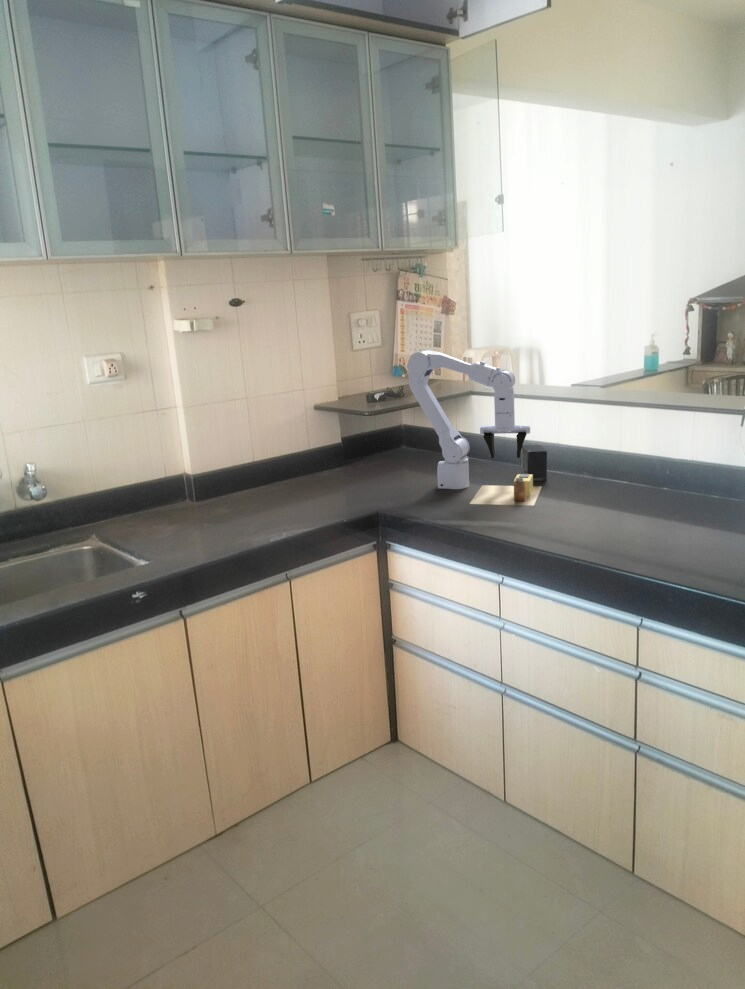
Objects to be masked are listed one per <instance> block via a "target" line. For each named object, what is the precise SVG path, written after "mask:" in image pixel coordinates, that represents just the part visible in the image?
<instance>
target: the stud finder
mask: <svg viewBox="0 0 745 989" xmlns="http://www.w3.org/2000/svg"><path fill="white" fill-rule="evenodd" d="M516 478H523V481H525V496H530V495H531V492H532V490H533V486H534V481H533V474H522V473H519V474H516V476H515V478H514V480H513V482H514V481H516Z"/></svg>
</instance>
